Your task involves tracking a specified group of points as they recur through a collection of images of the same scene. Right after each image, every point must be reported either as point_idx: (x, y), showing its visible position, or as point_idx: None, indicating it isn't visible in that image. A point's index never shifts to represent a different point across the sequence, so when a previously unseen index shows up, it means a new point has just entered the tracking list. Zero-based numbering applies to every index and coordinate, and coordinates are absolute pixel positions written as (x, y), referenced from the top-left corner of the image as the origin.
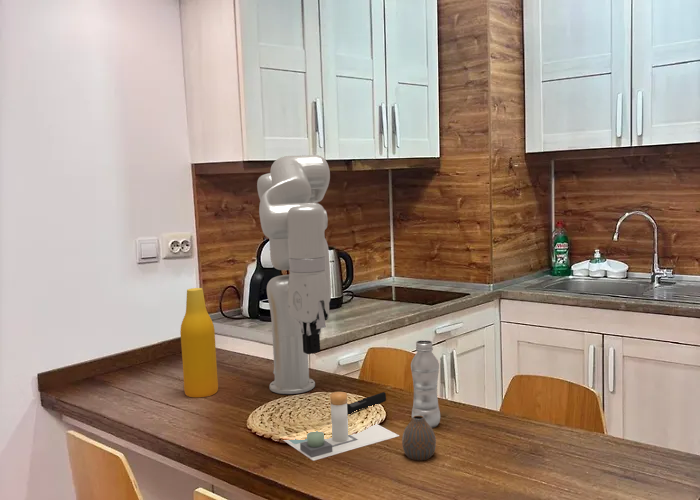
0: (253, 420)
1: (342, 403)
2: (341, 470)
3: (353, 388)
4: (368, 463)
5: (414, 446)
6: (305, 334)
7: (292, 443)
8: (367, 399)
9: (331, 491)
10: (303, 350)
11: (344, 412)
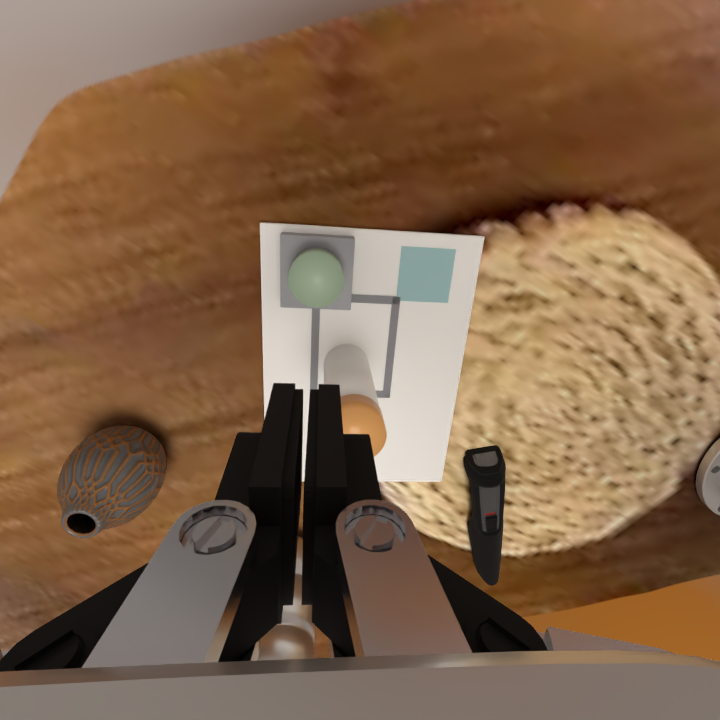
0: (666, 254)
1: None
2: (171, 259)
3: (610, 559)
4: (173, 340)
5: (78, 446)
6: (313, 508)
7: (412, 243)
8: (486, 537)
9: (51, 153)
10: (333, 389)
11: None
